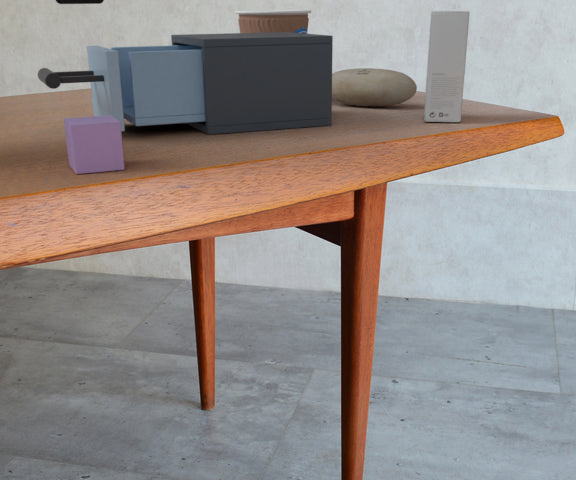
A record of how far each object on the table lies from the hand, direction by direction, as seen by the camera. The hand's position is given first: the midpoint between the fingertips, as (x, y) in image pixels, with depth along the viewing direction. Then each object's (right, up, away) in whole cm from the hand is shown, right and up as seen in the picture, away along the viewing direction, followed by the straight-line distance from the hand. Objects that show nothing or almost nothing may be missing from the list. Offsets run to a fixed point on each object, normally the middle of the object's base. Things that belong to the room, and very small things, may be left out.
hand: (79, 1), depth 58 cm
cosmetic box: (+35, -3, +29) cm, 45 cm away
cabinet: (+12, -3, +28) cm, 31 cm away
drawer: (0, -4, +23) cm, 23 cm away
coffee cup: (+15, +4, +46) cm, 49 cm away
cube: (0, -12, +5) cm, 13 cm away
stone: (+27, +1, +40) cm, 48 cm away
